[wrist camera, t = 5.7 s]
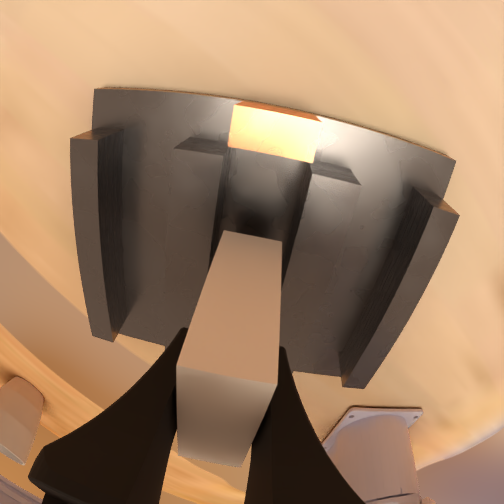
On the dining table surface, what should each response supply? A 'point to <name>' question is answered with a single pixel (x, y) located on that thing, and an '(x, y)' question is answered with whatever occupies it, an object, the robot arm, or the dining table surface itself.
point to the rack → (256, 220)
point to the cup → (19, 418)
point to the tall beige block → (230, 351)
